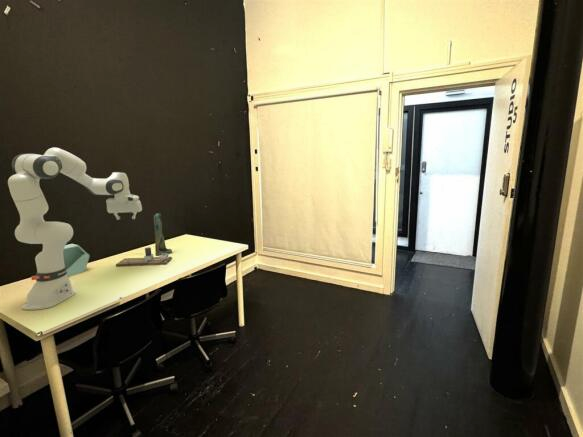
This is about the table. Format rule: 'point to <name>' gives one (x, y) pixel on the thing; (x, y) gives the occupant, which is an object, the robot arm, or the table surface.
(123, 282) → the table surface
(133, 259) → the plate
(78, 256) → the planter
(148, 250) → the divider leg
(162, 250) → the statue
